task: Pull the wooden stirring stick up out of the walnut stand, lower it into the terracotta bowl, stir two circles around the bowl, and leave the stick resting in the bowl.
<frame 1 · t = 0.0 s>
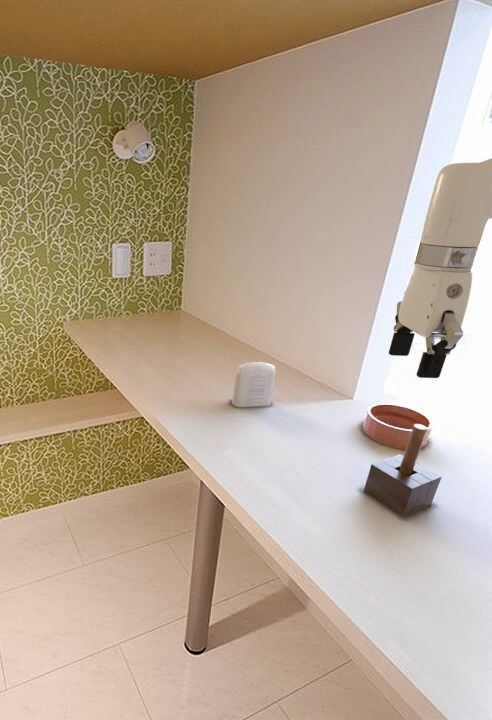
hand: (411, 365, 71), 26 cm above the table, tool pointing down, fingers open, 9 cm apart
stand: (395, 501, 81), on the table
stick: (407, 465, 77), in the stand
photo printer: (250, 406, 115), on the table
bowl: (393, 437, 102), on the table
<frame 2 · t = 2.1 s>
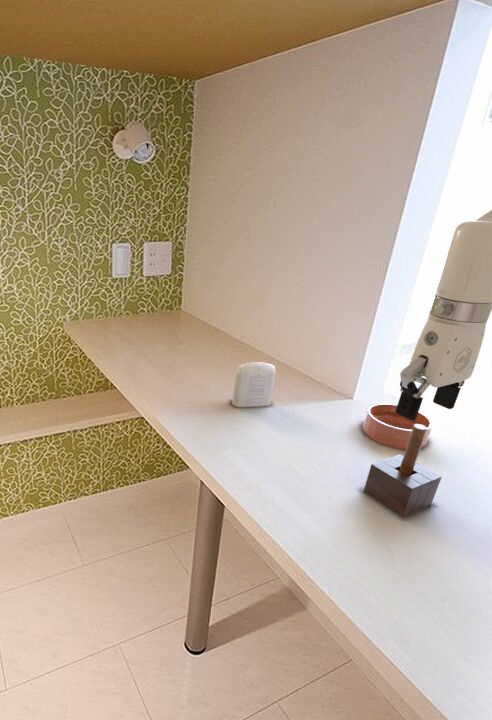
hand: (424, 410, 72), 19 cm above the table, tool pointing down, fingers open, 9 cm apart
nothing on the table moved.
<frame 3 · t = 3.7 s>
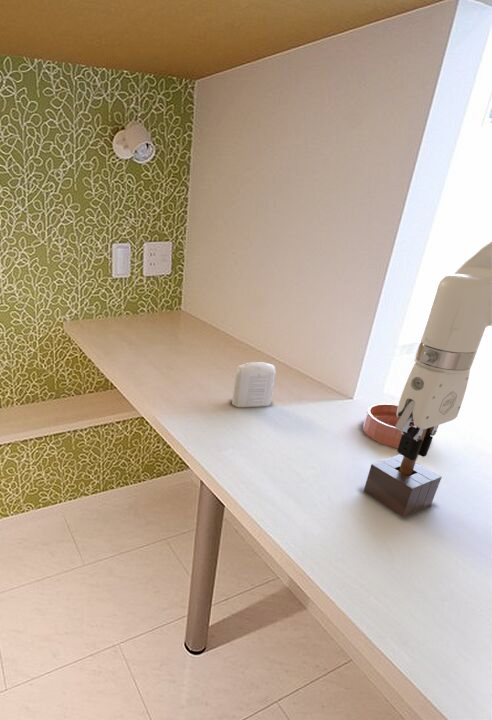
hand: (411, 453, 76), 11 cm above the table, tool pointing down, fingers closed on stick, 2 cm apart
stick: (407, 465, 77), in the stand, touching gripper
everything else where it was.
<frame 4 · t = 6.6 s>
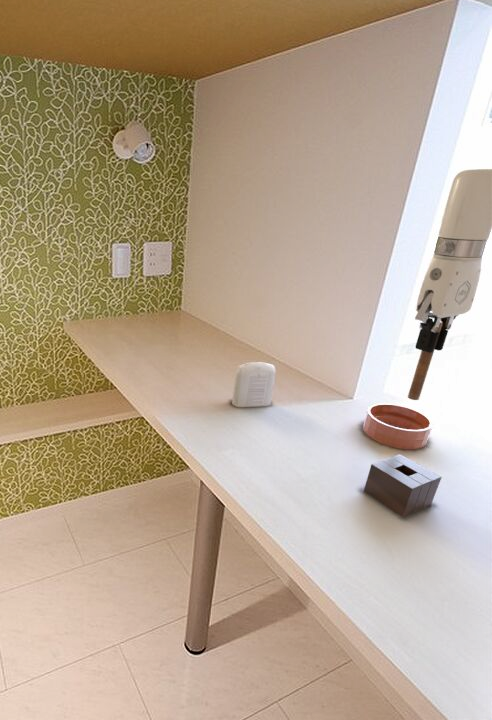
hand: (428, 348, 83), 25 cm above the table, tool pointing down, fingers closed on stick, 2 cm apart
stick: (424, 361, 84), point 22 cm above the table, touching gripper
everything else where it was.
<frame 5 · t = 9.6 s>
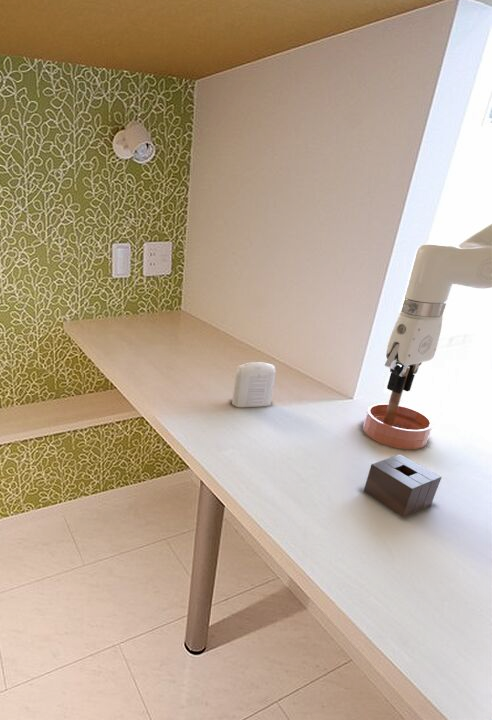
hand: (398, 389, 96), 12 cm above the table, tool pointing down, fingers closed on stick, 2 cm apart
stick: (394, 399, 97), point 10 cm above the table, touching gripper
everything else where it was.
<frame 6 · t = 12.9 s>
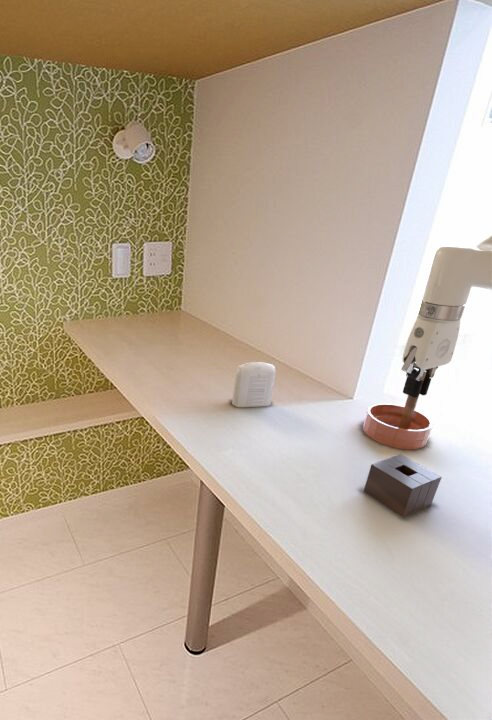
hand: (414, 393, 94), 12 cm above the table, tool pointing down, fingers closed on stick, 2 cm apart
stick: (410, 403, 96), point 10 cm above the table, touching gripper
everything else where it was.
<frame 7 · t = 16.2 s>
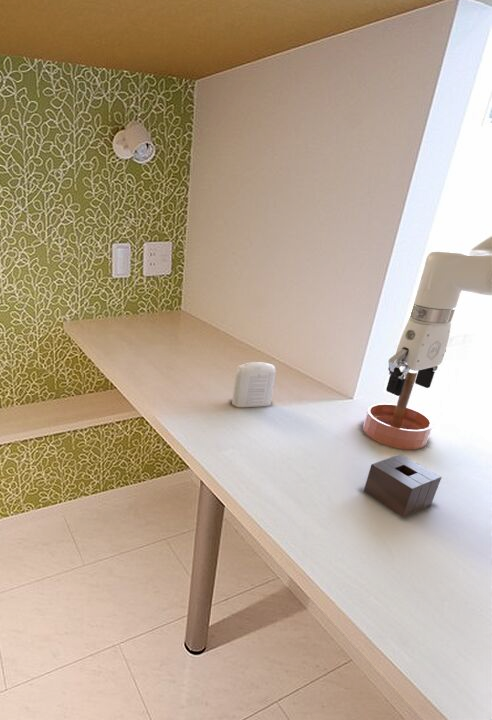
hand: (407, 389, 96), 12 cm above the table, tool pointing down, fingers open, 9 cm apart
stick: (402, 404, 98), in the bowl, point 9 cm above the table
everything else where it was.
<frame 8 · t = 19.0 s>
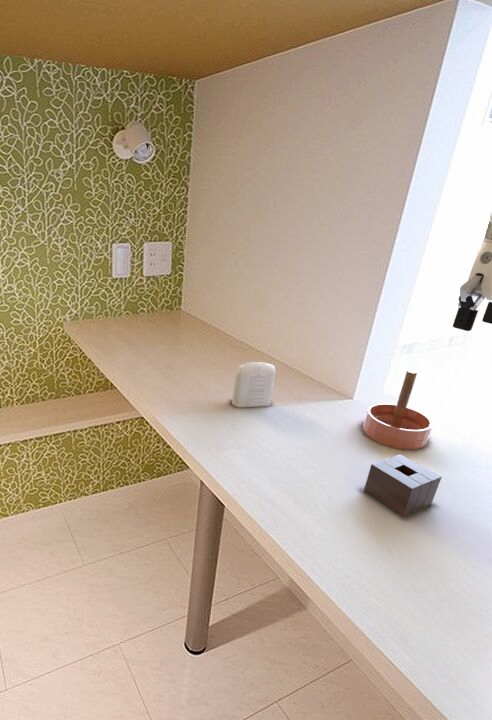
hand: (476, 326, 85), 28 cm above the table, tool pointing down, fingers open, 9 cm apart
nothing on the table moved.
at the end: stick inside the target area in the bowl (0.2 cm from its centre), point 8.6 cm above the bowl's base; the gripper is holding nothing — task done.
